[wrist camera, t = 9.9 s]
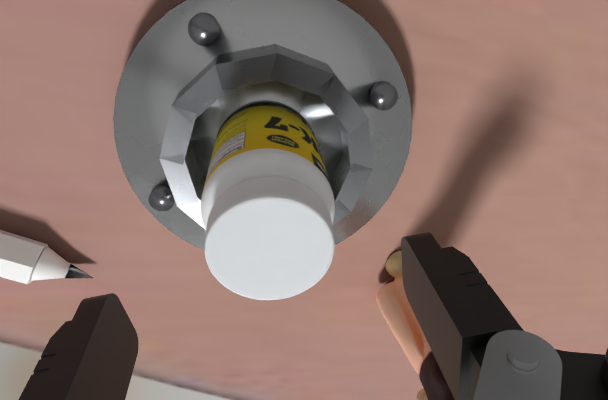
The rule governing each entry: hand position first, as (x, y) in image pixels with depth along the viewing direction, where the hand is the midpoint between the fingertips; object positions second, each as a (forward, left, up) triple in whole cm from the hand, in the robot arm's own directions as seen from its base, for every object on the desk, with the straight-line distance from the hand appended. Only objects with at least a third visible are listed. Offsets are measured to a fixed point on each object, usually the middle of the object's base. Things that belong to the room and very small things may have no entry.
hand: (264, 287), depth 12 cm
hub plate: (0, 0, -11) cm, 11 cm away
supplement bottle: (0, 0, -10) cm, 10 cm away
